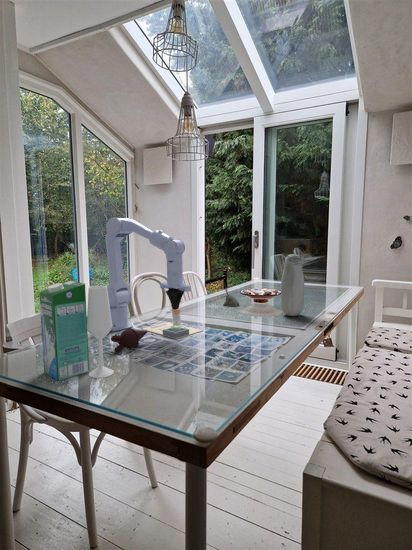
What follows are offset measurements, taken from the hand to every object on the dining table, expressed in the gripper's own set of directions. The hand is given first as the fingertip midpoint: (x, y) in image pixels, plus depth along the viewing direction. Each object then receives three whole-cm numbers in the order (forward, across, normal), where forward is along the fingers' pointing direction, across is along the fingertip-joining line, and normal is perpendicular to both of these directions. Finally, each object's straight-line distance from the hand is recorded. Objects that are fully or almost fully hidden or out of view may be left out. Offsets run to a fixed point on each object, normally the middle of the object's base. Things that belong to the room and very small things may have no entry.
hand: (175, 308), depth 140 cm
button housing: (+10, 0, 0) cm, 10 cm away
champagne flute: (+10, -12, +40) cm, 43 cm away
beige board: (+10, +6, -4) cm, 12 cm away
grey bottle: (+10, -16, -56) cm, 60 cm away
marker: (+10, +7, -7) cm, 14 cm away
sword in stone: (+10, +19, -58) cm, 62 cm away
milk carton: (+10, -4, +46) cm, 47 cm away
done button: (+9, 0, 0) cm, 9 cm away
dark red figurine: (+10, 0, +20) cm, 23 cm away
